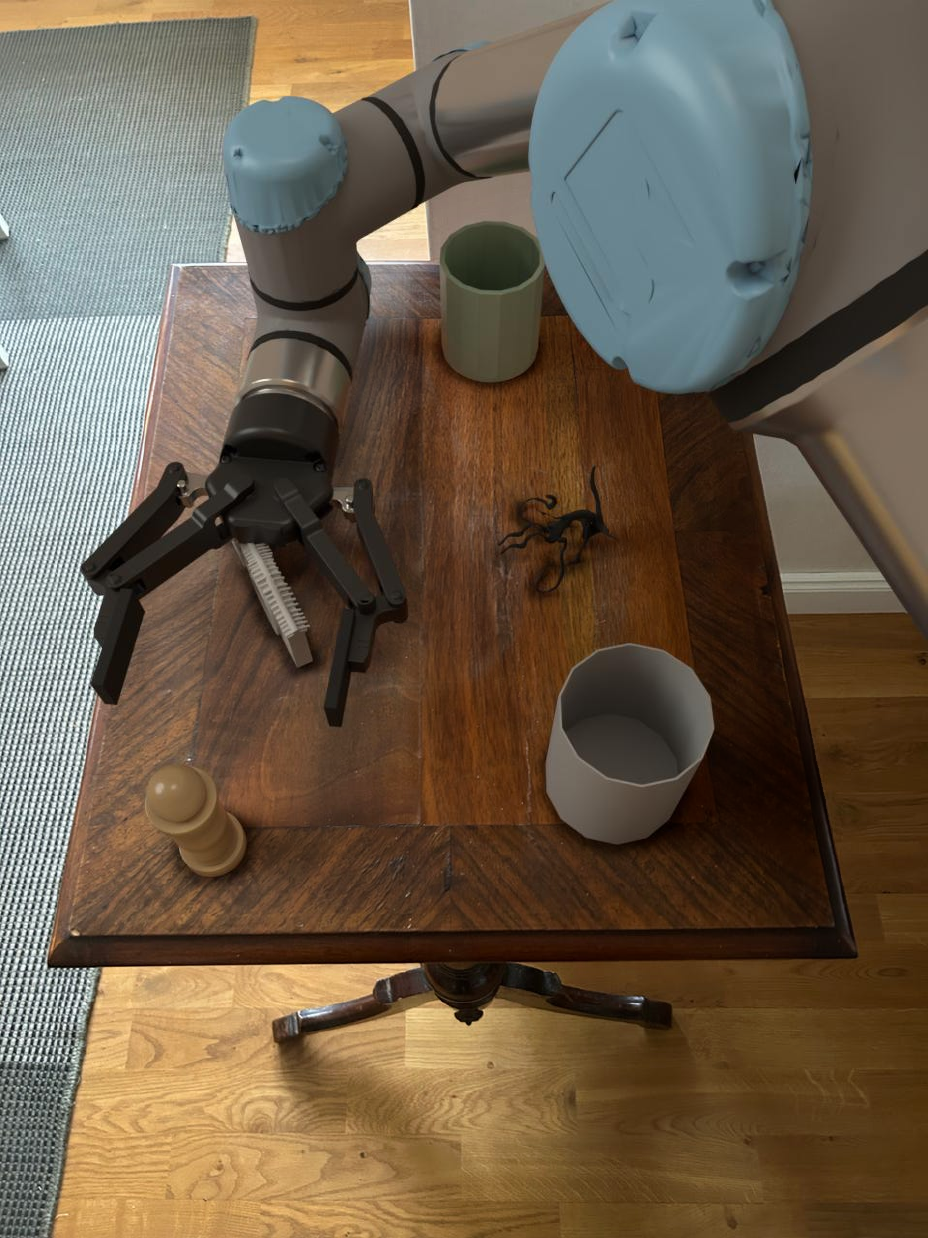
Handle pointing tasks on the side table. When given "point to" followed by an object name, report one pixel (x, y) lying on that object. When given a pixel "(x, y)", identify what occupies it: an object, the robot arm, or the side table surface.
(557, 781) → the cup
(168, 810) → the game piece
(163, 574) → the robot arm
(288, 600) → the lattice window wall
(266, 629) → the side table surface
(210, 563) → the side table surface
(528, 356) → the tumbler
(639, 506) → the side table surface
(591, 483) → the creature
